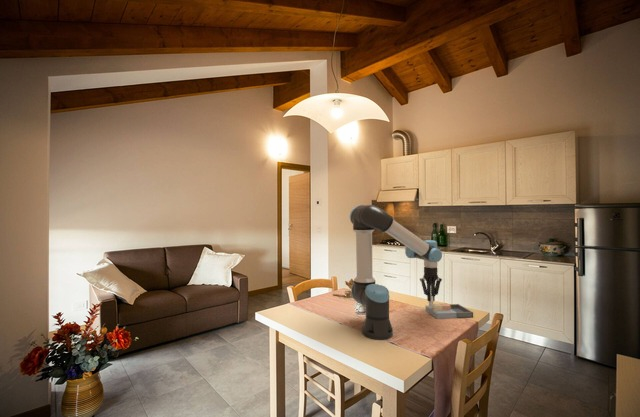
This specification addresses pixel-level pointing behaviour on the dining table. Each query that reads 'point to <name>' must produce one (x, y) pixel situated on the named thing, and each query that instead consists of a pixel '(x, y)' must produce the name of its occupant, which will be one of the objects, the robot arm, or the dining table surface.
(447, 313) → the plate
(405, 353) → the dining table surface
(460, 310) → the box
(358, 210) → the robot arm
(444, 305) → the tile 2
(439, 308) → the tile
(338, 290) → the dining table surface
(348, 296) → the wooden toy
